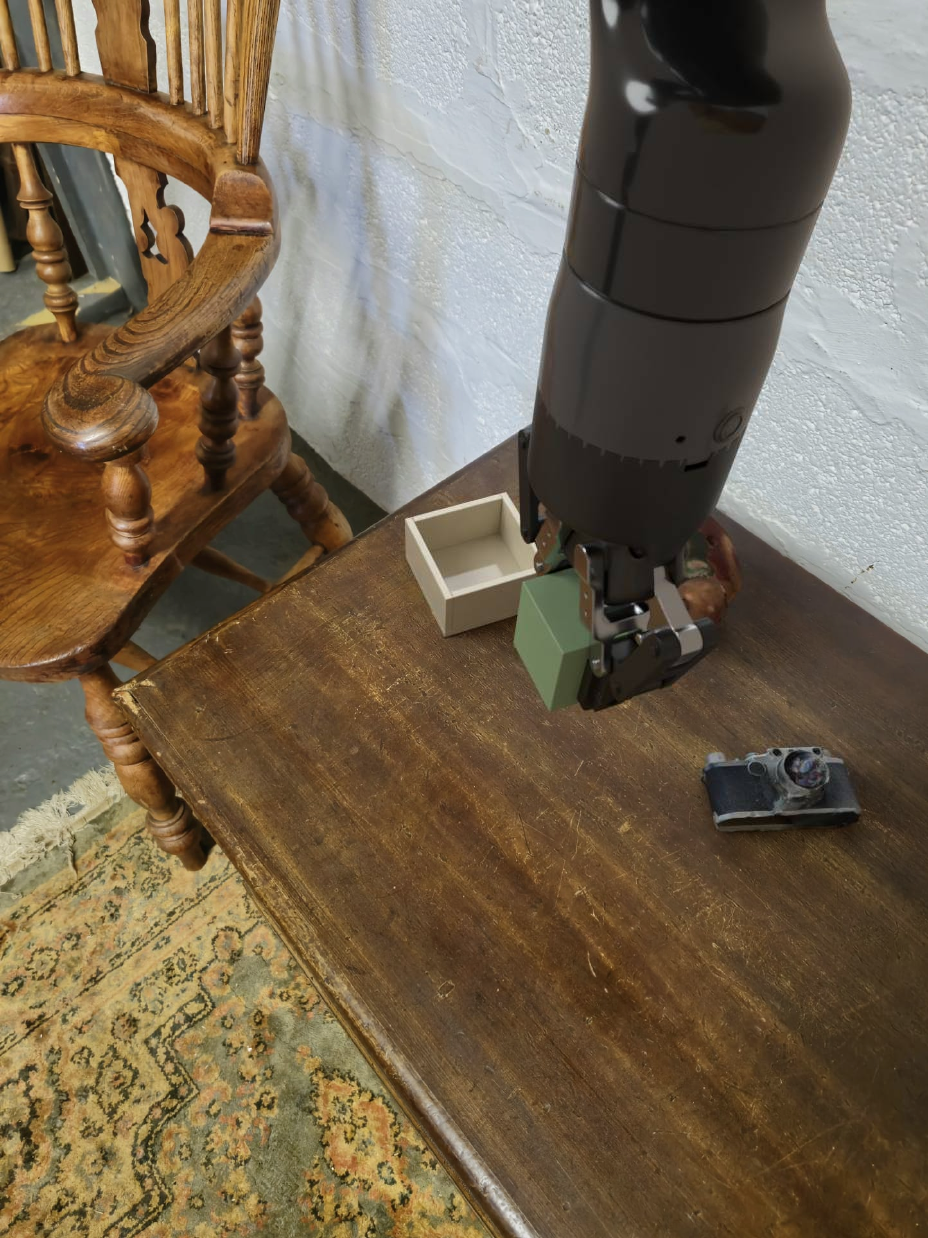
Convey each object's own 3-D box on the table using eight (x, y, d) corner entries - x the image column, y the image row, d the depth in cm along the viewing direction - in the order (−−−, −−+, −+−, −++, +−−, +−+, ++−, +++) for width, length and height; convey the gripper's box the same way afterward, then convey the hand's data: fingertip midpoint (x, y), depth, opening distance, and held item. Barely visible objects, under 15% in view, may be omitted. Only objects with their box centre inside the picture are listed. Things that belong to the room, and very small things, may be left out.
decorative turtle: (639, 687, 63) (655, 617, 57) (580, 547, 72) (588, 474, 66) (763, 665, 64) (791, 593, 58) (688, 530, 73) (705, 456, 67)
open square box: (444, 637, 65) (445, 600, 61) (405, 557, 70) (404, 518, 66) (546, 606, 67) (553, 568, 63) (502, 531, 72) (506, 491, 68)
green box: (549, 713, 41) (563, 654, 37) (512, 643, 44) (521, 580, 40) (639, 684, 43) (661, 624, 39) (598, 617, 45) (615, 554, 41)
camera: (690, 764, 59) (706, 733, 56) (834, 760, 60) (859, 730, 56) (706, 832, 56) (725, 805, 52) (858, 828, 56) (886, 800, 53)
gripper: (470, 290, 32) (455, 578, 46) (652, 552, 24) (570, 807, 38) (641, 258, 34) (579, 544, 48) (862, 492, 26) (712, 755, 40)
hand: (575, 659), depth 43 cm, fingers closed on green box, 4 cm apart
